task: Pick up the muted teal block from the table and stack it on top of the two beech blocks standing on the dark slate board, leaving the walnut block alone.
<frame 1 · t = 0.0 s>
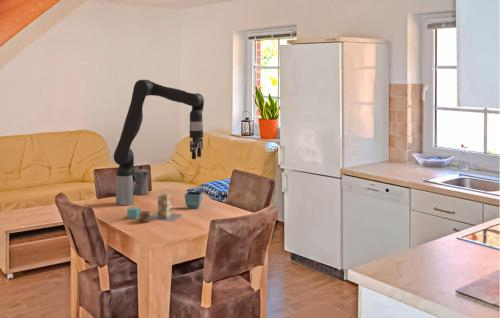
hand: (196, 158, 310), 29 cm above the table, tool pointing down, fingers open, 8 cm apart
coffeepot: (140, 193, 353), on the table
walnut block: (144, 223, 282), on the table
flower pot: (193, 208, 315), on the table
tower top block: (163, 205, 290), point 7 cm above the table, touching tower base block
slate board: (164, 219, 291), on the table
teal block: (134, 219, 290), on the table
tower base block: (164, 216, 291), point 1 cm above the table, touching slate board, tower top block
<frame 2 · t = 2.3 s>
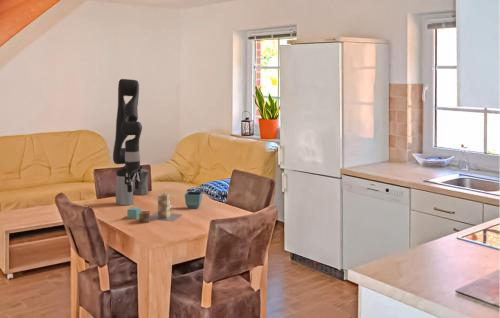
hand: (133, 190, 288), 16 cm above the table, tool pointing down, fingers open, 8 cm apart
nothing on the table moved.
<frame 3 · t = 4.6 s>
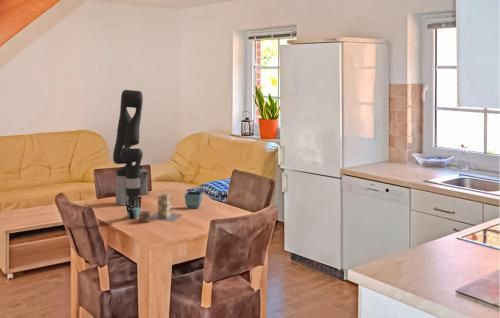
hand: (134, 217, 290), 1 cm above the table, tool pointing down, fingers closed on teal block, 5 cm apart
teal block: (134, 219, 290), on the table, touching gripper
everything else where it was.
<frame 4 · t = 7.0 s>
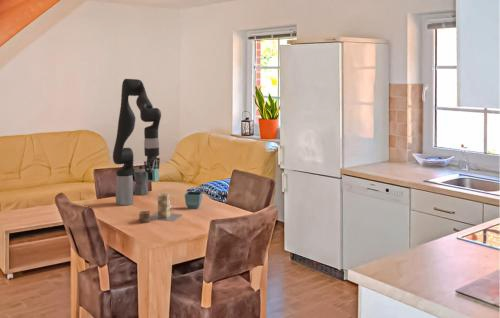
hand: (152, 178, 287), 22 cm above the table, tool pointing down, fingers closed on teal block, 5 cm apart
teal block: (152, 180, 287), point 21 cm above the table, touching gripper
everything else where it was.
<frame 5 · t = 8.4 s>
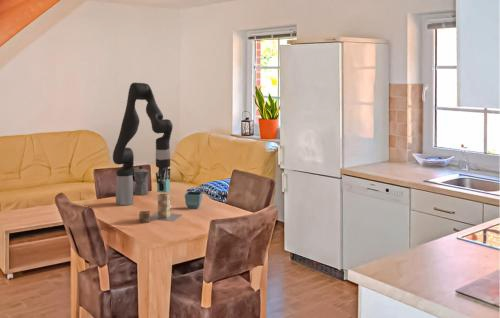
hand: (163, 189, 289), 16 cm above the table, tool pointing down, fingers closed on teal block, 5 cm apart
teal block: (163, 191, 289), point 15 cm above the table, touching gripper
everything else where it was.
when the fingers open (16 cm above the table, at t = 9.3 s): teal block drops 1 cm, resting on tower top block.
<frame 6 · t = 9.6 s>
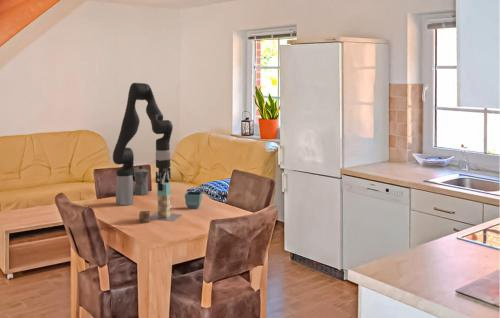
hand: (163, 189, 289), 16 cm above the table, tool pointing down, fingers open, 7 cm apart
tower top block: (163, 205, 290), point 7 cm above the table, touching teal block, tower base block
teal block: (163, 194, 289), point 13 cm above the table, touching tower top block
everything else where it was.
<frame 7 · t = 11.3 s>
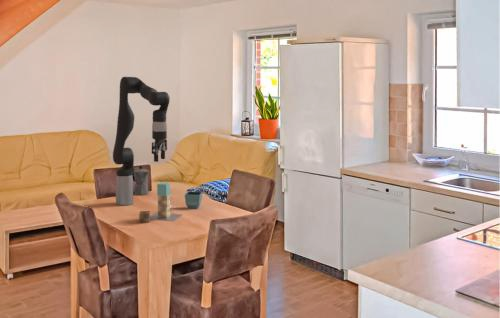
hand: (159, 160, 292), 31 cm above the table, tool pointing down, fingers open, 8 cm apart
nothing on the table moved.
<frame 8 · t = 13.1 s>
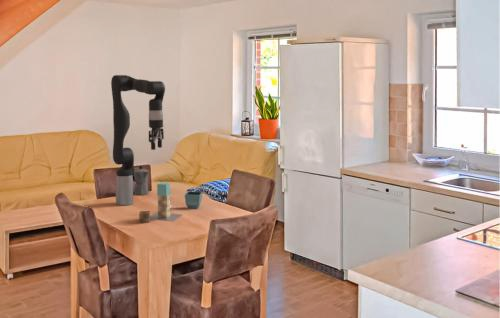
hand: (156, 148, 297), 36 cm above the table, tool pointing down, fingers open, 8 cm apart
nothing on the table moved.
at the end: teal block 0.1 cm off-centre on the tower base block, point 12.0 cm above the tower base block's base; tower top block 0.0 cm off-centre on the tower base block, point 6.0 cm above the tower base block's base; the gripper is holding nothing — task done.
